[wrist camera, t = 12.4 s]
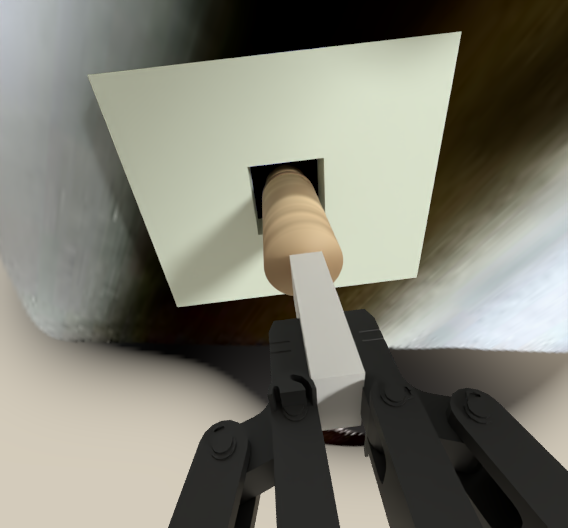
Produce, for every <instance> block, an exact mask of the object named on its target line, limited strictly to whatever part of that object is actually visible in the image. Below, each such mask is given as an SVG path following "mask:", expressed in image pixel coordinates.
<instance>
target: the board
mask: <svg viewBox="0 0 568 528" xmlns="http://www.w3.org/2000/svg"><path fill="white" fill-rule="evenodd" d="M460 37H461V32H454V33H445V34H437V35H428V36H419V37H411V38H402V39H393V40H385V41H376V42H367V43H359V44H350V45H342V46H333V47H324V48H316V49H307V50H298V51H290V52H281V53H272V54H264V55H255V56H246V57H238V58H229V59H221V60H212V61H203V62H195V63H186V64H177V65H169V66H160V67H151V68H143V69H134V70H126V71H117V72H108V73H100V74H91V75H87V76H88V78H89V81H90V83H91V86H92V88H93V91H94V94H95V96H96V99H97V101H98V104H99V106H100V109H101V112H102V114H103V117H104V119H105V122H106V124H107V127H108V130H109V132H110V135H111V137H112V140H113V142H114V145H115V148H116V150H117V153H118V155H119V158H120V160H121V163H122V166H123V168H124V171H125V173H126V176H127V178H128V181H129V184H130V186H131V189H132V191H133V194H134V196H135V199H136V202H137V204H138V207H139V209H140V212H141V215H142V217H143V220H144V222H145V225H146V227H147V230H148V233H149V235H150V238H151V240H152V243H153V245H154V248H155V251H156V253H157V256H158V258H159V261H160V263H161V266H162V269H163V271H164V274H165V276H166V279H167V281H168V284H169V287H170V289H171V292H172V294H173V297H174V299H175V302H176V305H177V307H182V306H190V305H198V304H206V303H214V302H223V301H231V300H239V299H247V298H255V297H263V296H271V295H279V294H285V293H282V292H280V291H278V290H277V289H275V288H274V287H273V286H272V285H271V284H270V283H269V281H268V280H267V278H266V275H265V272H264V259H263V218H262V219H258V215H257V209H256V203H255V196H254V190H253V183H252V177H251V171H250V167H251V166H260V165H268V164H276V163H285V162H293V161H302V160H310V159H317V168H318V197H319V201H320V203H321V205H322V208H323V210H324V212H325V214H326V217H327V219H328V221H329V223H330V226H331V228H332V230H333V232H334V235H335V237H336V239H337V241H338V244H339V246H340V248H341V251H342V254H343V266H342V270H341V272H340V274H339V276H338V278H337V279H336V280H335V282H334V283H333V284H334V286H335V287H343V286H351V285H359V284H367V283H375V282H383V281H391V280H399V279H407V278H415V277H417V272H418V267H419V262H420V256H421V251H422V245H423V240H424V234H425V229H426V223H427V218H428V212H429V207H430V201H431V196H432V190H433V185H434V179H435V174H436V169H437V163H438V158H439V152H440V147H441V141H442V136H443V130H444V125H445V119H446V114H447V108H448V103H449V97H450V92H451V86H452V81H453V75H454V70H455V65H456V59H457V54H458V48H459V43H460Z"/></svg>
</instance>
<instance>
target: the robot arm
mask: <svg viewBox="0 0 568 528" xmlns="http://www.w3.org/2000/svg"><path fill="white" fill-rule="evenodd" d="M289 256H290V266H291V276H292V285H293V295H294V303H295V309H296V316H297V318H296V319H288V320H280V321H274V322H273V324H272V326H271V329H270V331H269V342H270V359H271V380H272V383H271V384H270V386H269V390H268V399H269V403H268V405H267V406H266V408H265V409H264V410H263V411H262V412H261V413H260V414H258V415H256V416H255V417H253V418H251V419H249V420H247V421H245V422H243V423H240V424H239V423H238V422H235V421H232V420H227V421H221V422H218V423H216V424H214V425H212V426H211V427H210V428H209V429H208V430H207V431H206V432H205V433H204V435H203V437H202V439H201V440H200V442H199V445H198V448H197V451H196V454H195V456H194V459H193V462H192V464H191V467H190V470H189V472H188V475H187V478H186V480H185V483H184V486H183V489H182V491H181V494H180V497H179V499H178V502H177V505H176V508H175V510H174V513H173V516H172V518H171V521H170V524H169V527H168V528H254V526H255V521H256V515H257V510H258V505H259V499H260V494H261V493H263V492H265V491H266V490H268V489H270V488H271V487H273V486H275V499H276V518H277V528H340V525H339V520H338V514H337V509H336V504H335V499H334V493H333V487H332V482H331V476H330V472H329V465H328V460H327V454H326V449H325V444H324V438H323V433H322V430H330V429H337V428H345V427H352V426H360V425H361V418H362V421H363V424H364V427H365V431H366V435H365V445H364V452H365V457H367V456H368V455H369V457H370V460H371V464H372V467H373V470H374V474H375V477H376V481H377V484H378V488H379V491H380V495H381V498H382V502H383V505H384V509H385V512H386V516H387V519H388V523H389V526H390V528H568V471H567V470H566V469H565V468H564V467H563V466H562V465H561V464H560V463H559V462H558V461H557V460H556V459H555V458H554V457H553V456H552V455H551V454H550V453H549V452H548V451H547V450H546V449H545V448H544V447H543V446H542V445H541V444H540V443H539V442H538V441H537V440H536V439H535V438H534V437H533V436H532V435H531V434H530V433H529V432H528V431H527V430H526V429H525V428H524V427H523V426H522V425H521V424H520V423H519V422H518V421H517V420H516V419H515V418H514V417H513V416H512V415H511V414H510V413H509V412H507V411H506V410H505V408H503V406H502V405H501V404H499V403H498V402H497V401H496V400H495V399H494V398H492V397H491V396H490V395H488V394H486V393H484V392H482V391H479V390H476V389H470V388H465V389H459V390H457V391H456V392H455V393H453V394H452V397H449V396H443V395H437V394H431V393H427V392H423V391H421V390H418V389H416V388H414V387H413V386H412V385H411V384H409V383H408V382H407V381H406V380H405V379H404V378H403V377H402V375H401V374H400V372H399V370H398V367H397V365H396V363H395V361H394V359H393V357H392V355H391V353H390V350H389V348H388V346H387V344H386V342H385V340H384V339H383V335H382V333H381V331H380V330H379V327H378V325H377V323H376V321H375V318H374V317H373V316H372V315H371V314H370V313H368V312H367V311H366V310H365V309H360V310H353V311H345V312H343V309H342V306H341V303H340V301H339V298H338V295H337V292H336V289H335V286H334V284H333V281H332V278H331V275H330V272H329V270H328V267H327V264H326V261H325V258H324V256H323V253H322V251H319V252H311V253H303V254H295V255H289Z"/></svg>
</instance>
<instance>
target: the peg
mask: <svg viewBox="0 0 568 528" xmlns="http://www.w3.org/2000/svg"><path fill="white" fill-rule="evenodd" d="M262 217H263V259H264V272H265V275H266V278H267V280H268V281H269V283H270V284H271V285H272V286H273V287H274V288H275V289H277V290H278V291H280V292H282V293H285V294H287V295H291V296H294V295H293V285H292V276H291V266H290V256H289V255H295V254H303V253H311V252H319V251H322V253H323V256H324V258H325V261H326V264H327V267H328V270H329V272H330V275H331V278H332V281H333V283H334V282H335V280H336V279H337V278H338V276H339V274H340V272H341V270H342V266H343V254H342V251H341V248H340V246H339V244H338V241H337V239H336V237H335V235H334V232H333V230H332V228H331V226H330V223H329V221H328V219H327V217H326V214H325V212H324V210H323V208H322V205H321V203H320V201H319V199H318V196H317V194H316V192H315V190H314V187H313V185H312V183H311V182H310V180H309V179H308V178H307V177H305V176H304V175H303V173H302V172H301V171H300V170H299V169H298V168H296V167H294V166H291V165H281V166H278V167H276V168H275V169H273V170H272V171H271V172H270V173H269V175H268V177H267V179H266V184H265V187H264V189H263V193H262Z"/></svg>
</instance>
